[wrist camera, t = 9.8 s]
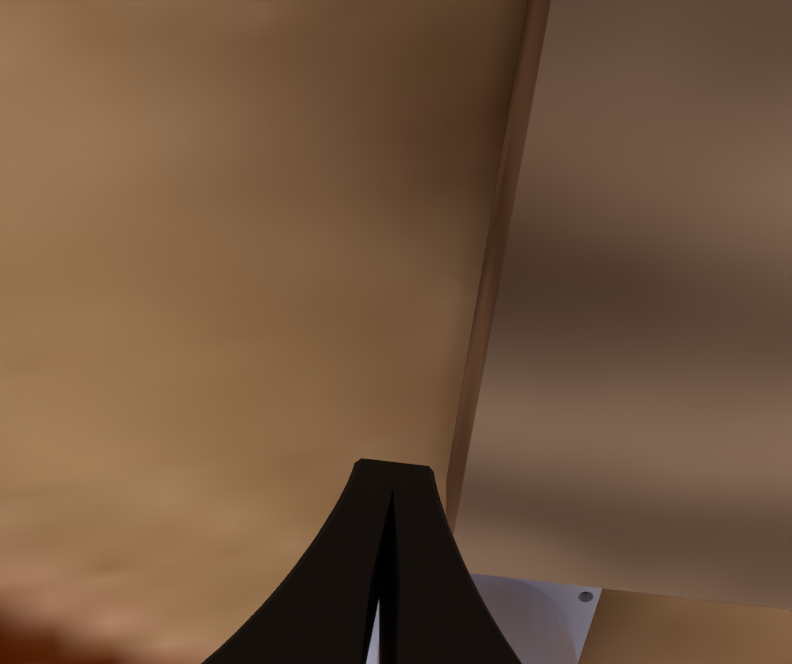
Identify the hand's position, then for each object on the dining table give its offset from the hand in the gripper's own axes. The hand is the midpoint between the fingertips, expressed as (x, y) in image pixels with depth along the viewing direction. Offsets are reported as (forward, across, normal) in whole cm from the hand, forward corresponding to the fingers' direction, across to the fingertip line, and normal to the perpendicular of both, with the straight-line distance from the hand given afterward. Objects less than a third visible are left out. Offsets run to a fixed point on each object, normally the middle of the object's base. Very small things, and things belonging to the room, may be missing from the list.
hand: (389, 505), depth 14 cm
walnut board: (+9, -8, -2) cm, 13 cm away
